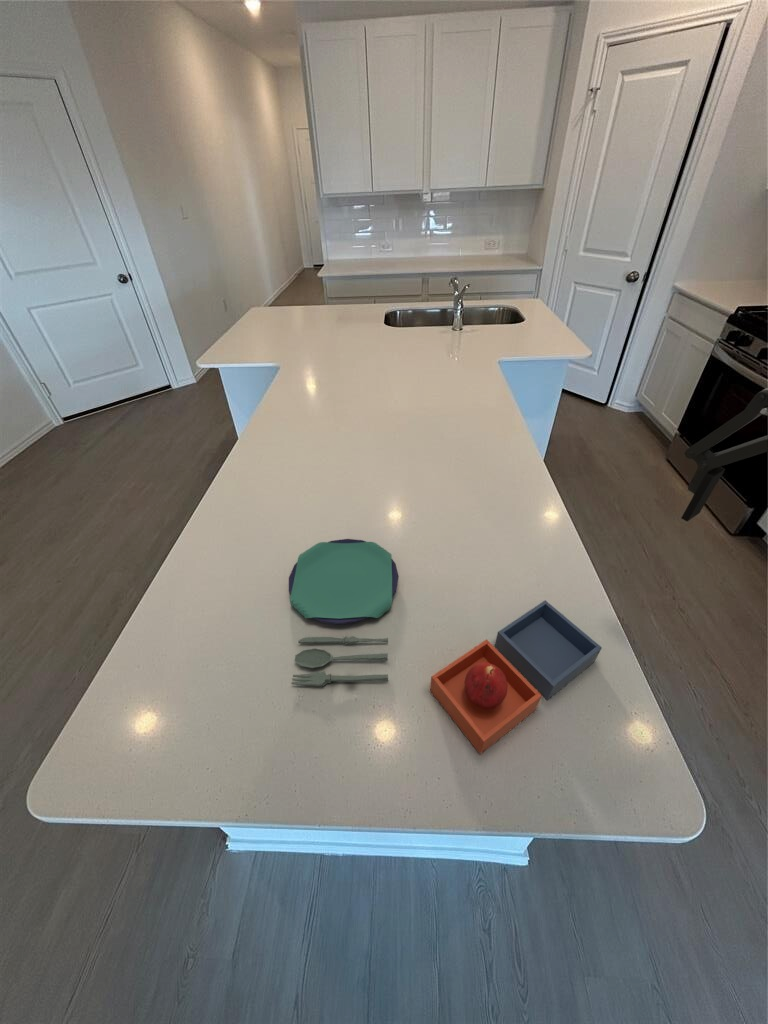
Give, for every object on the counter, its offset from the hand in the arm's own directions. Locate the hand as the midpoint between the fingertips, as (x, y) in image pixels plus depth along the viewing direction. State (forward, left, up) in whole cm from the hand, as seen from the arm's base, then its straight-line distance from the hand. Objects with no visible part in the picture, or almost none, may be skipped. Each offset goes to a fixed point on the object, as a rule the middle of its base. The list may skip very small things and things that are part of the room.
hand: (751, 549), depth 48 cm
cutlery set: (+38, +33, -27) cm, 57 cm away
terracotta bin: (+12, +24, -27) cm, 38 cm away
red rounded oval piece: (+12, +24, -26) cm, 38 cm away
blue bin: (+12, +11, -27) cm, 31 cm away
